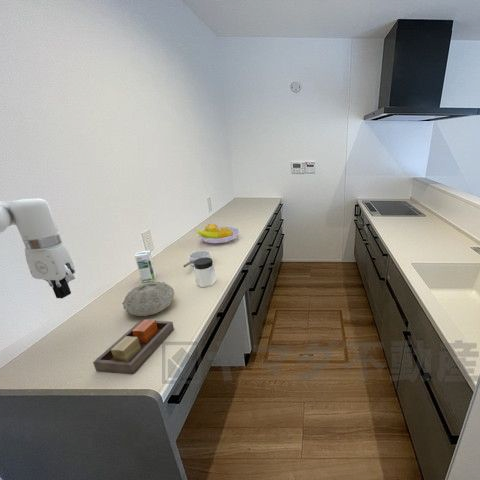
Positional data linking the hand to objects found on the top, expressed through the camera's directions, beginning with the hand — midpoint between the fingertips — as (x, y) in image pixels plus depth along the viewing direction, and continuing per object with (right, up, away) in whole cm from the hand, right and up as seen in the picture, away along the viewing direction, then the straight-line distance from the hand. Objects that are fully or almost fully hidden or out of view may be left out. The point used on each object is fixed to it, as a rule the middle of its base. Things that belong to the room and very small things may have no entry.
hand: (64, 295), depth 82 cm
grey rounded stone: (+11, -11, +26) cm, 31 cm away
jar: (+25, -4, +46) cm, 52 cm away
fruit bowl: (+10, +17, +101) cm, 103 cm away
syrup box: (-5, -2, +49) cm, 49 cm away
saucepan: (+13, +3, +62) cm, 63 cm away
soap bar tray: (+20, -19, +5) cm, 28 cm away
